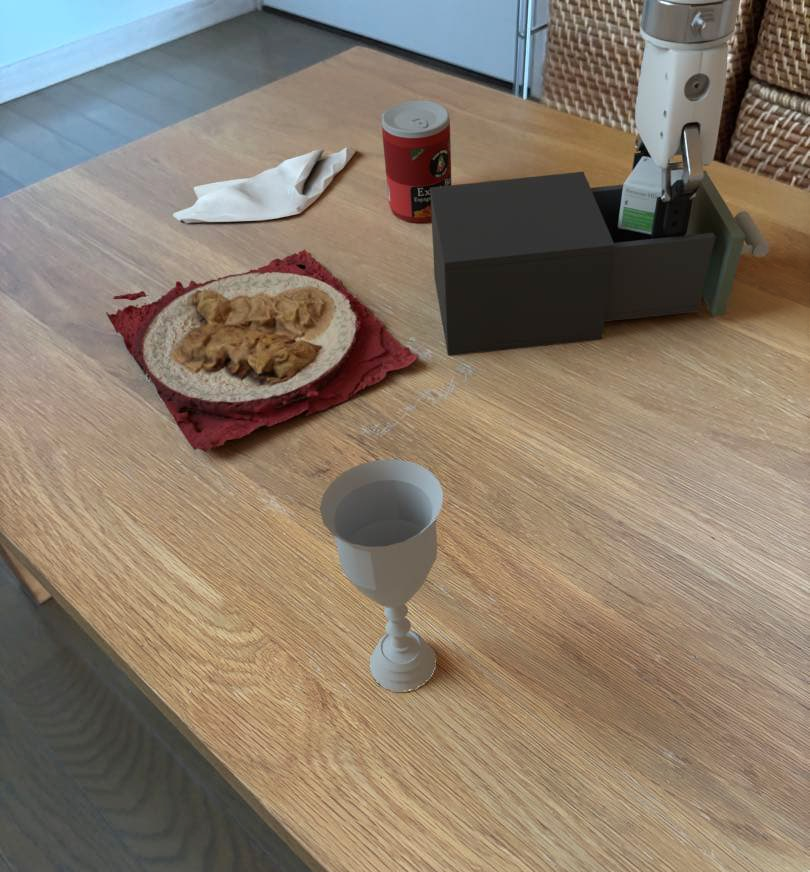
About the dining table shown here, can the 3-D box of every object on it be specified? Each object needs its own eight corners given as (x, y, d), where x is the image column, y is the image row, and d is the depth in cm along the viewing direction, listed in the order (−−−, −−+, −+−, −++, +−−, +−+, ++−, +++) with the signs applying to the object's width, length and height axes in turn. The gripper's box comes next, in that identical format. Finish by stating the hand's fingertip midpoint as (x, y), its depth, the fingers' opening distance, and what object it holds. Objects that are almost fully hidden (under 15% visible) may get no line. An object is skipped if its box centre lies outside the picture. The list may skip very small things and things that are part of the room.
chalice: (374, 719, 61) (344, 564, 48) (341, 646, 66) (303, 484, 52) (467, 680, 63) (463, 519, 49) (428, 611, 67) (415, 444, 53)
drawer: (728, 243, 94) (747, 165, 87) (767, 311, 86) (792, 231, 79) (557, 261, 94) (563, 184, 87) (580, 330, 86) (589, 252, 80)
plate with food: (201, 467, 79) (192, 441, 76) (109, 323, 93) (99, 296, 91) (421, 372, 86) (420, 344, 83) (305, 251, 100) (301, 224, 98)
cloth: (188, 247, 103) (183, 230, 101) (163, 195, 111) (158, 178, 109) (389, 190, 108) (388, 173, 106) (351, 145, 116) (349, 128, 115)
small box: (616, 230, 84) (622, 182, 80) (636, 201, 87) (642, 153, 83) (673, 242, 82) (682, 193, 78) (692, 212, 85) (701, 164, 81)
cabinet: (574, 263, 95) (583, 171, 87) (602, 339, 87) (614, 244, 78) (434, 278, 95) (430, 187, 87) (447, 355, 87) (444, 262, 79)
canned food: (419, 231, 102) (413, 139, 93) (375, 207, 106) (366, 116, 97) (466, 206, 104) (464, 114, 96) (422, 183, 109) (417, 93, 100)
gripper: (772, 50, 65) (722, 259, 78) (703, -29, 76) (670, 165, 89) (672, 61, 65) (640, 267, 78) (618, -20, 76) (598, 173, 89)
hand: (656, 212), depth 84 cm, fingers closed on small box, 7 cm apart
